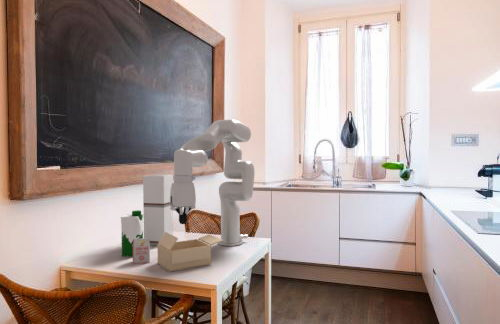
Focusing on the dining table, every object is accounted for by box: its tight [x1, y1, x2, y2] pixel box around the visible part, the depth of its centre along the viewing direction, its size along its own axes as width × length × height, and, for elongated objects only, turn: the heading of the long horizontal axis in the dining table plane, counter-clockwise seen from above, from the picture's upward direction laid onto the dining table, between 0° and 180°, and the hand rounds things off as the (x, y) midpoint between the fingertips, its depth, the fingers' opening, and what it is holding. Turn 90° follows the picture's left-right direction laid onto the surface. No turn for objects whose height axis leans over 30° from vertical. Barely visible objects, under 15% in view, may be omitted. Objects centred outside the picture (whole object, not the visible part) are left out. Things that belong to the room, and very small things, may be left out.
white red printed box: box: [132, 237, 151, 264], centre depth 164 cm, size 4×7×10 cm, turn 101°
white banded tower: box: [142, 174, 174, 246], centre depth 199 cm, size 11×11×35 cm
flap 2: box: [197, 234, 223, 246], centre depth 167 cm, size 1×13×6 cm
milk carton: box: [120, 209, 144, 258], centre depth 176 cm, size 9×9×20 cm
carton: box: [156, 238, 212, 273], centre depth 161 cm, size 18×15×8 cm
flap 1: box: [158, 232, 179, 250], centre depth 157 cm, size 1×13×6 cm
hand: (183, 223), depth 160 cm, fingers closed
